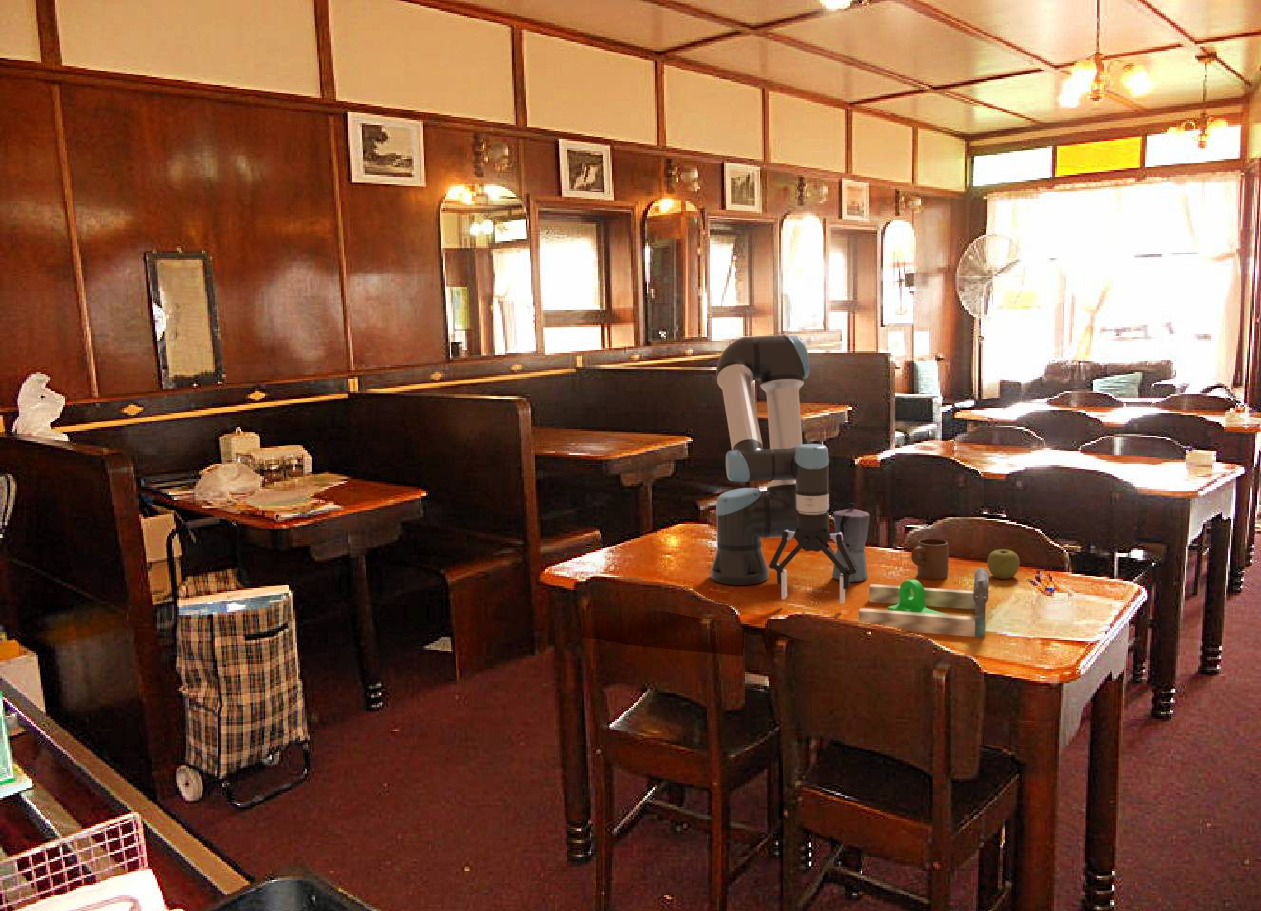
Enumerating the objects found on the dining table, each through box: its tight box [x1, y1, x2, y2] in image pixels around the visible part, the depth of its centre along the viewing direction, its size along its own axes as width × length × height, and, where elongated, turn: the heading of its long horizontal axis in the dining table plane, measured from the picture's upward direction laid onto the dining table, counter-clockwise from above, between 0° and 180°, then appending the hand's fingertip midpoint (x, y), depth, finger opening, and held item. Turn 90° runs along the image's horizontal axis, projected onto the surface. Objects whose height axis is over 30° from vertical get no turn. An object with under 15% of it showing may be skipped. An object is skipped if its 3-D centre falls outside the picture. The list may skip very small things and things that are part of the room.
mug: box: [910, 538, 950, 581], centre depth 240 cm, size 12×8×9 cm, turn 125°
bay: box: [858, 567, 990, 638], centre depth 209 cm, size 26×22×13 cm
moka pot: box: [832, 502, 871, 583], centre depth 241 cm, size 10×15×20 cm, turn 155°
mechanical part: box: [887, 578, 948, 615], centre depth 210 cm, size 12×6×8 cm, turn 33°
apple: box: [986, 548, 1021, 580], centre depth 238 cm, size 8×8×7 cm
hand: (813, 600), depth 219 cm, fingers open, 13 cm apart
